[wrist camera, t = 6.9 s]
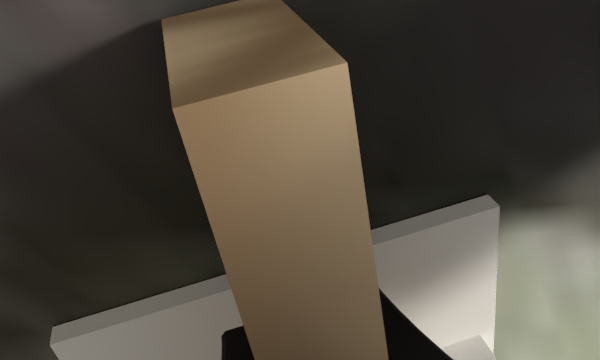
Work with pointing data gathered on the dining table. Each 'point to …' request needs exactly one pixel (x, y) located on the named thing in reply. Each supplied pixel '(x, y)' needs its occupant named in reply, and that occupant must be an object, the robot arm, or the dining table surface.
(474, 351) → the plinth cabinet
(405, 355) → the robot arm
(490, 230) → the floor board
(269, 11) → the blade batten
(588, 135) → the dining table surface
